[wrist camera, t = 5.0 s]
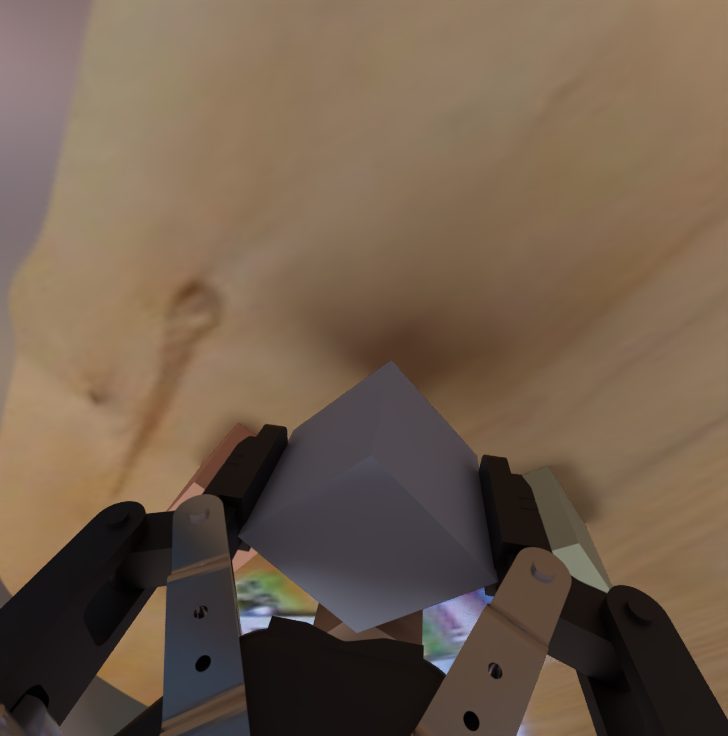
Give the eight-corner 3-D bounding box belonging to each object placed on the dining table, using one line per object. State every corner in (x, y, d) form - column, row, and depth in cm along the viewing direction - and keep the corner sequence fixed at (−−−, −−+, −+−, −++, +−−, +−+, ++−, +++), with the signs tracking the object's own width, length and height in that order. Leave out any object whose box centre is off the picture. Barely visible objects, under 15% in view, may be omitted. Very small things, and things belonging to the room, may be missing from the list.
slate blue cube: (476, 455, 14) (498, 581, 10) (376, 508, 16) (356, 633, 12) (391, 360, 13) (371, 454, 9) (293, 430, 15) (237, 536, 11)
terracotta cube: (304, 469, 24) (276, 537, 19) (262, 507, 26) (229, 575, 22) (238, 421, 23) (194, 482, 18) (201, 465, 25) (153, 528, 21)
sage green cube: (584, 522, 22) (622, 608, 18) (504, 546, 24) (521, 629, 20) (547, 464, 21) (579, 543, 17) (465, 495, 23) (474, 572, 18)
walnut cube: (423, 575, 27) (421, 655, 22) (379, 603, 29) (371, 680, 25) (366, 539, 26) (354, 614, 22) (326, 571, 28) (308, 645, 24)
